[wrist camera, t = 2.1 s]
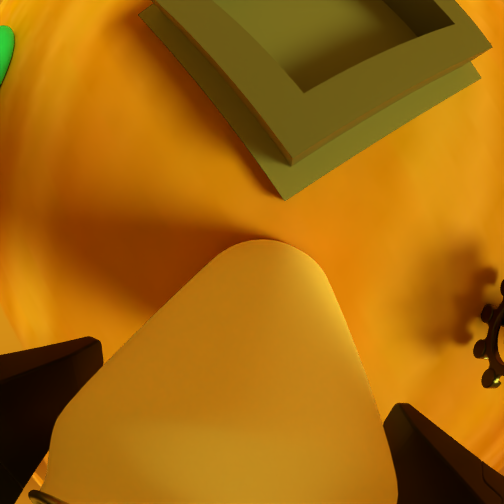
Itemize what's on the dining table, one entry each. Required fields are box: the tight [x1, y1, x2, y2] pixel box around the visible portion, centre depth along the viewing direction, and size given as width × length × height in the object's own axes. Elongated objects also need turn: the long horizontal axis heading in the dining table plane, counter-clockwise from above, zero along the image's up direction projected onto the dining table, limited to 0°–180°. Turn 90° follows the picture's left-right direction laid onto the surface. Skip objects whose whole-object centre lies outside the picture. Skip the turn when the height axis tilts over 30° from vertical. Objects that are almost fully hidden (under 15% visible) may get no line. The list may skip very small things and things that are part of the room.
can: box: [28, 239, 398, 504], centre depth 7 cm, size 6×6×12 cm
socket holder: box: [138, 0, 492, 201], centre depth 8 cm, size 13×13×4 cm
